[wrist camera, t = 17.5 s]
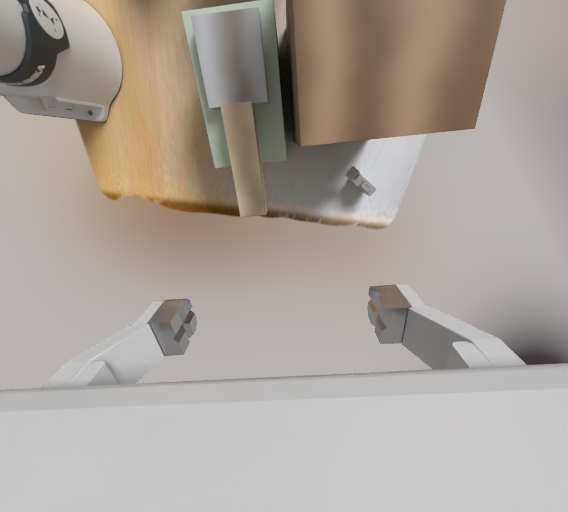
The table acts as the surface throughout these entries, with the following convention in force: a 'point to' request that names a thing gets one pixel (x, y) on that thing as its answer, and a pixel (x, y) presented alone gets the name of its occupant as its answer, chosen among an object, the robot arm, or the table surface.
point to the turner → (237, 94)
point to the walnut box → (387, 66)
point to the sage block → (267, 114)
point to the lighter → (360, 181)
